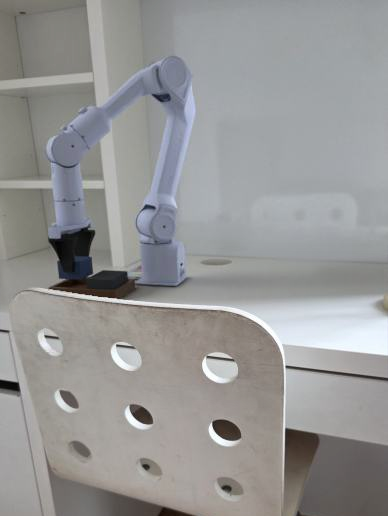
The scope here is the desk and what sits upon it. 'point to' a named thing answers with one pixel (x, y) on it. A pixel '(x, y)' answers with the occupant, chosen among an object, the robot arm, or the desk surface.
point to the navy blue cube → (77, 269)
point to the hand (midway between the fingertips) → (76, 268)
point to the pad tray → (81, 288)
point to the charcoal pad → (107, 280)
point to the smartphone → (135, 273)
